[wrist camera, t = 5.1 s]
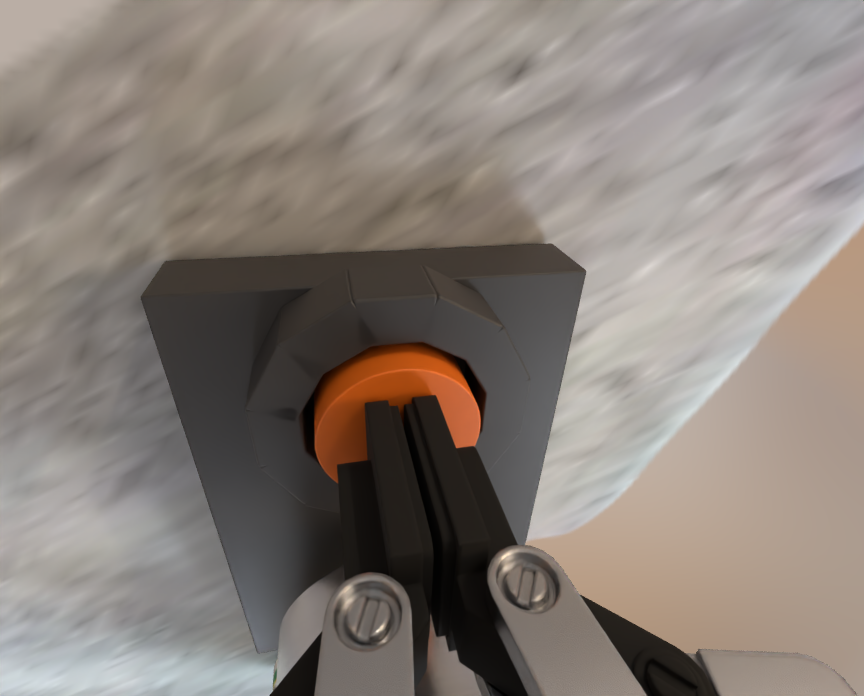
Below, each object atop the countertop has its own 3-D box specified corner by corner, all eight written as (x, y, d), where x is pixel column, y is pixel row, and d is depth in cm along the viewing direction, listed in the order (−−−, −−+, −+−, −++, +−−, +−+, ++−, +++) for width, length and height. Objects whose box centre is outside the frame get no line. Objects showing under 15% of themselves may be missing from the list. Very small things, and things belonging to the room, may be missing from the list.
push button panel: (159, 243, 12) (103, 316, 9) (554, 228, 14) (629, 282, 11) (262, 601, 21) (253, 705, 17) (496, 557, 23) (528, 642, 20)
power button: (305, 336, 11) (305, 379, 10) (467, 323, 12) (489, 361, 10) (321, 458, 13) (322, 507, 12) (457, 440, 14) (474, 484, 13)
